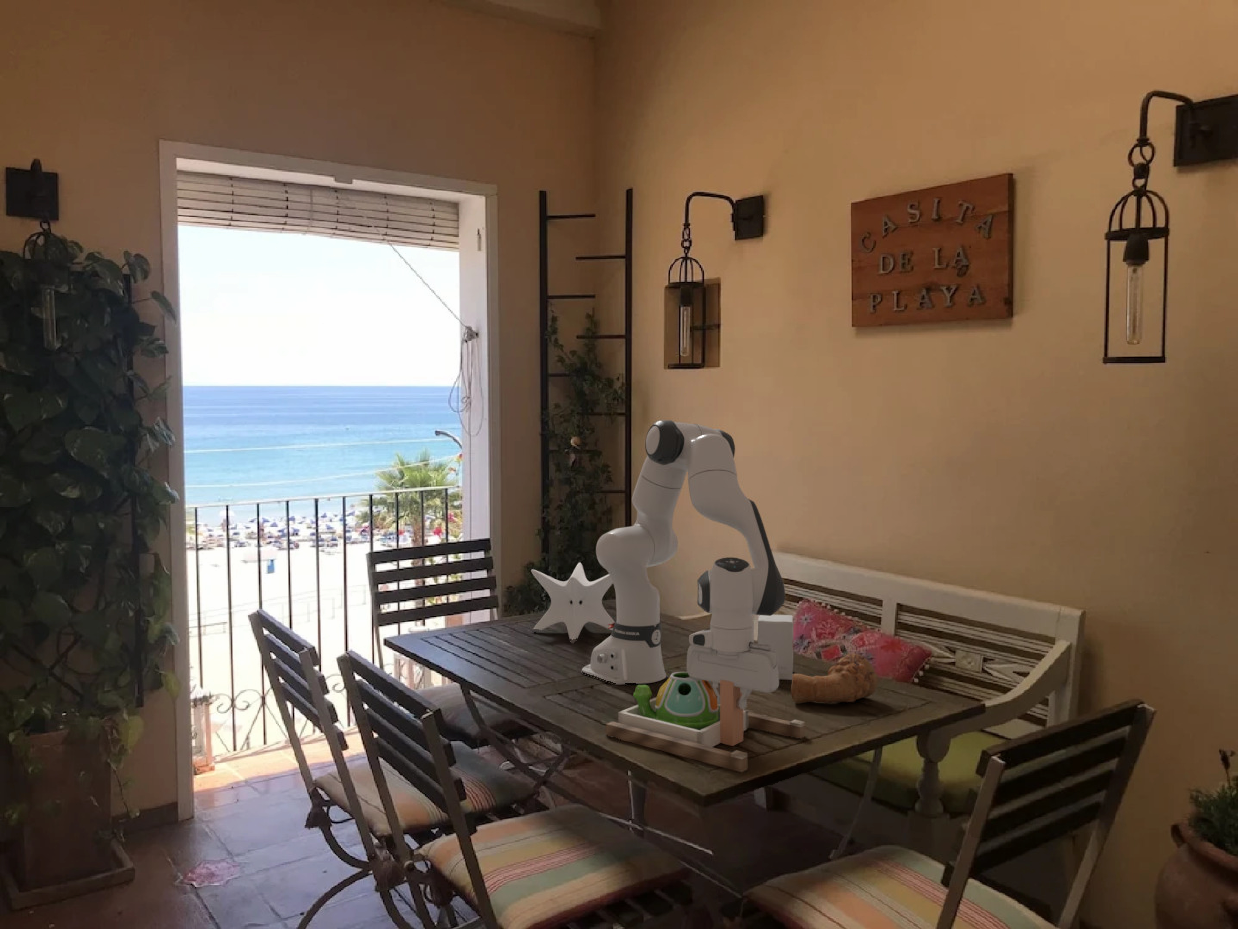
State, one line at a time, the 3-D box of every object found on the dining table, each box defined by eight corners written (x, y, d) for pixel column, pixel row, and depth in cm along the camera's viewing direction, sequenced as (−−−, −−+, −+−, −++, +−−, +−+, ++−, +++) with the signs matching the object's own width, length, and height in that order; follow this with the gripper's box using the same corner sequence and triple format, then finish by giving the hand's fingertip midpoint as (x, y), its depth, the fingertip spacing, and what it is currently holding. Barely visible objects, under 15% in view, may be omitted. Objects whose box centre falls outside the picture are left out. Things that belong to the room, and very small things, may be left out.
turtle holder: (638, 718, 207) (638, 665, 206) (720, 722, 204) (720, 668, 203) (629, 737, 194) (629, 680, 194) (716, 741, 191) (716, 684, 191)
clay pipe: (873, 727, 211) (879, 690, 224) (874, 687, 207) (879, 651, 220) (790, 716, 217) (800, 680, 230) (789, 677, 213) (799, 643, 226)
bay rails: (606, 735, 195) (606, 721, 195) (675, 706, 215) (675, 693, 215) (741, 772, 175) (741, 756, 174) (804, 736, 194) (804, 721, 194)
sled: (618, 730, 198) (618, 670, 197) (668, 709, 212) (668, 653, 211) (713, 756, 183) (713, 690, 182) (760, 731, 197) (760, 670, 196)
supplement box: (792, 680, 235) (793, 622, 235) (757, 679, 237) (757, 620, 236) (793, 671, 244) (793, 614, 244) (758, 669, 246) (759, 613, 245)
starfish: (531, 633, 290) (530, 569, 289) (580, 623, 303) (579, 562, 302) (572, 644, 275) (572, 577, 274) (622, 633, 288) (621, 569, 287)
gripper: (784, 643, 185) (784, 712, 186) (699, 629, 198) (699, 693, 199) (769, 649, 181) (768, 720, 181) (682, 634, 193) (682, 700, 194)
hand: (731, 706), depth 190 cm, fingers closed on sled, 3 cm apart
